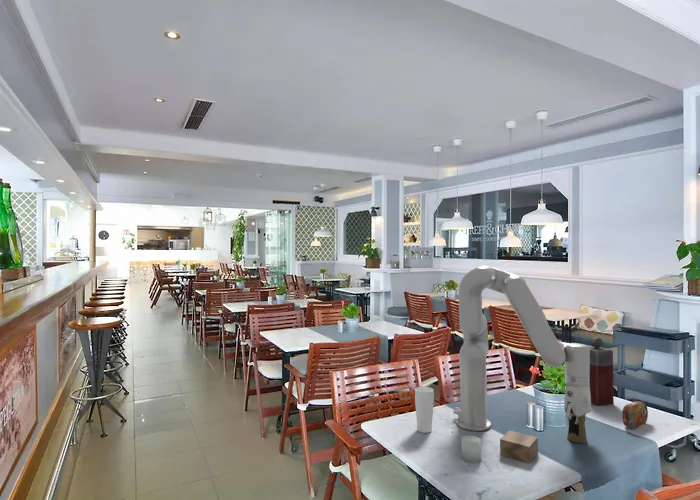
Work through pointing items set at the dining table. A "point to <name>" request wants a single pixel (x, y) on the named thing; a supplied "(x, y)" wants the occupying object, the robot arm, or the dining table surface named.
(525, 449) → the block
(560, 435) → the dining table surface
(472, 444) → the grey rounded block
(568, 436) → the cork
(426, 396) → the drinking glass
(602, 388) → the dark red canister
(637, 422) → the tin
